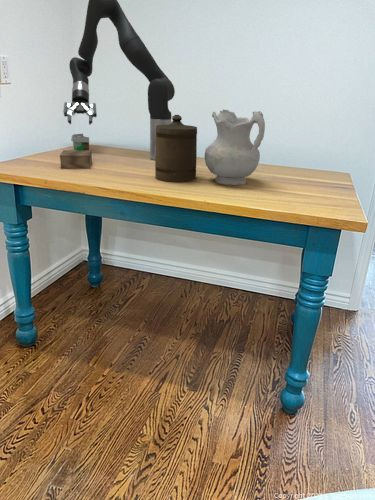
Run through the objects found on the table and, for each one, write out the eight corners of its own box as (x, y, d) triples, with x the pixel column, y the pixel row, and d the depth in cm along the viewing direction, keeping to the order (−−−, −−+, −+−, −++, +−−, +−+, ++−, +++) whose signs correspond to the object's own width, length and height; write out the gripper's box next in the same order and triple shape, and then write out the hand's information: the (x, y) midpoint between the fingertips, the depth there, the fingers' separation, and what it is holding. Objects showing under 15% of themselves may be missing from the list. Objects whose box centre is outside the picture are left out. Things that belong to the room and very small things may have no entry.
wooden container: (178, 171, 162) (179, 112, 153) (204, 179, 151) (207, 116, 143) (147, 176, 153) (146, 113, 144) (172, 184, 142) (173, 117, 134)
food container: (70, 157, 183) (68, 133, 179) (84, 156, 185) (82, 133, 182) (75, 162, 173) (73, 137, 169) (90, 161, 175) (89, 137, 171)
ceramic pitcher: (270, 184, 151) (280, 113, 143) (250, 191, 135) (259, 110, 127) (217, 176, 161) (223, 109, 153) (192, 182, 145) (198, 106, 137)
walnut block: (92, 162, 173) (91, 150, 171) (90, 168, 162) (89, 155, 160) (64, 162, 171) (63, 150, 169) (60, 168, 160) (59, 155, 158)
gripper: (63, 87, 185) (62, 117, 179) (95, 88, 187) (95, 117, 181) (65, 99, 192) (64, 128, 186) (97, 100, 194) (97, 129, 188)
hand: (80, 123), depth 183 cm, fingers open, 8 cm apart
